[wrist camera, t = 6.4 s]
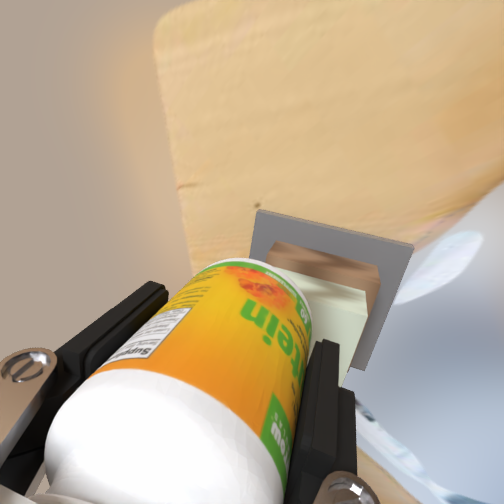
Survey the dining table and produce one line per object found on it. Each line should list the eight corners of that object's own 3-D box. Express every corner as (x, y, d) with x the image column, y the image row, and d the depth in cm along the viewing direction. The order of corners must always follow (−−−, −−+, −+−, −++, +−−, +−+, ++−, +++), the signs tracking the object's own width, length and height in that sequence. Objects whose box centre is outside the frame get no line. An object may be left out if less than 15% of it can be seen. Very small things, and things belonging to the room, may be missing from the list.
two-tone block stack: (377, 265, 29) (386, 309, 22) (347, 346, 33) (347, 405, 26) (276, 240, 31) (254, 273, 24) (260, 319, 35) (237, 367, 28)
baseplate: (412, 244, 29) (414, 248, 28) (364, 364, 35) (364, 371, 34) (259, 209, 32) (256, 211, 31) (239, 325, 38) (237, 330, 37)
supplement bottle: (340, 344, 12) (323, 901, 3) (234, 381, 14) (61, 769, 6) (265, 229, 11) (-16, 576, 2) (166, 288, 13) (-165, 576, 5)
